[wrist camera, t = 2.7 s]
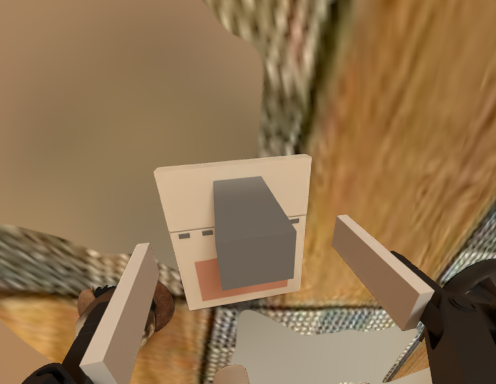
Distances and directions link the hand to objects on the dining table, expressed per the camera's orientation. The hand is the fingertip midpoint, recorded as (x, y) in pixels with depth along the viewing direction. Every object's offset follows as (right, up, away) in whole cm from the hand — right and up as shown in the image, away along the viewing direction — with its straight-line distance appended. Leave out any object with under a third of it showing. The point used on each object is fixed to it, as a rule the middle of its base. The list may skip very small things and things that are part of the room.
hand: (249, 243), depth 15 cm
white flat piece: (-1, -5, +13) cm, 14 cm away
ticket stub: (-1, +4, +9) cm, 10 cm away
